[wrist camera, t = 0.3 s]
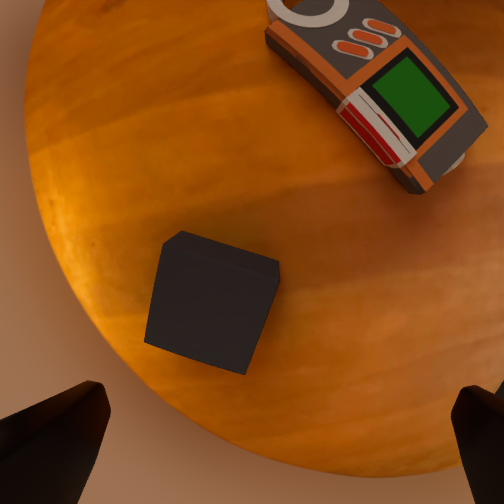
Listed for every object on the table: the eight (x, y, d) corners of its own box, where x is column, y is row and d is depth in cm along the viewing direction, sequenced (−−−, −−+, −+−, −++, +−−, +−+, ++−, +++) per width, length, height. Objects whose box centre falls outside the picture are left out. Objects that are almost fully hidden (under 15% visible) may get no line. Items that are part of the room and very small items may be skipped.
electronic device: (314, -50, 12) (495, 130, 13) (311, -26, 15) (470, 135, 16) (230, 5, 14) (427, 202, 15) (237, 26, 16) (407, 199, 18)
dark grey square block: (249, 345, 21) (245, 375, 18) (161, 317, 21) (143, 342, 18) (279, 260, 19) (280, 280, 16) (181, 230, 19) (162, 243, 16)
